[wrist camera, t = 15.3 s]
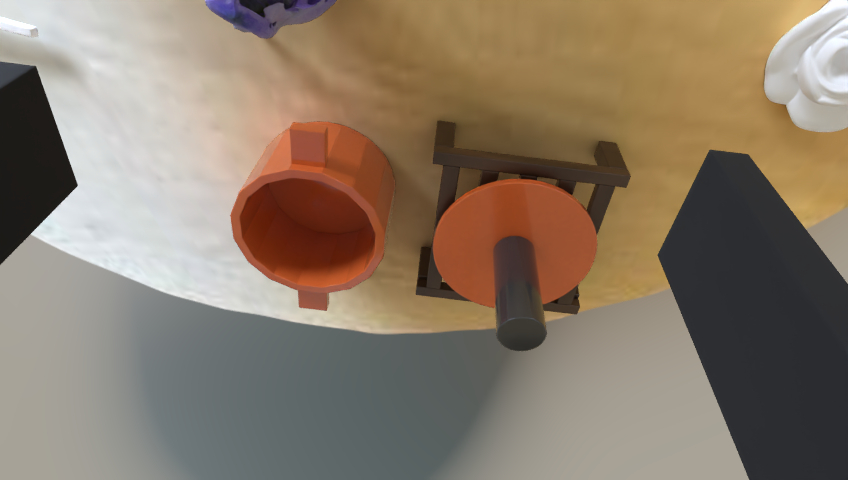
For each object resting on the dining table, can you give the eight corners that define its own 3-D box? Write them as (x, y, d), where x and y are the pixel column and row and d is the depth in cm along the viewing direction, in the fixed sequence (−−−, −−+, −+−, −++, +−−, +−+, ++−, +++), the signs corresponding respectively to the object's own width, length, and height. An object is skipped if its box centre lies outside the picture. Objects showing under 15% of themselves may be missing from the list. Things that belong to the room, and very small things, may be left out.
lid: (425, 289, 47) (416, 383, 39) (443, 163, 39) (437, 249, 32) (570, 307, 47) (589, 404, 40) (616, 185, 40) (650, 275, 32)
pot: (269, 250, 52) (243, 307, 46) (253, 79, 42) (217, 124, 36) (389, 265, 52) (378, 323, 46) (402, 98, 42) (391, 146, 36)
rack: (420, 257, 51) (415, 295, 48) (437, 120, 43) (433, 151, 39) (569, 276, 52) (577, 314, 48) (616, 142, 43) (631, 176, 39)
